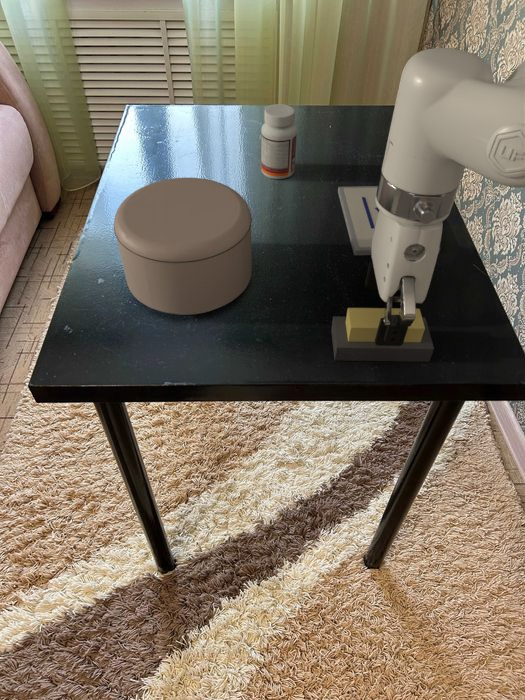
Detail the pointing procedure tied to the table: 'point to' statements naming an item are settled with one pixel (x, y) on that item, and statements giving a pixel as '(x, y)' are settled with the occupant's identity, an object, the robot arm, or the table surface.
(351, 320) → the eraser
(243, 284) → the container
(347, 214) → the whiteboard
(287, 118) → the pill bottle
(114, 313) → the table surface
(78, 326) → the table surface
